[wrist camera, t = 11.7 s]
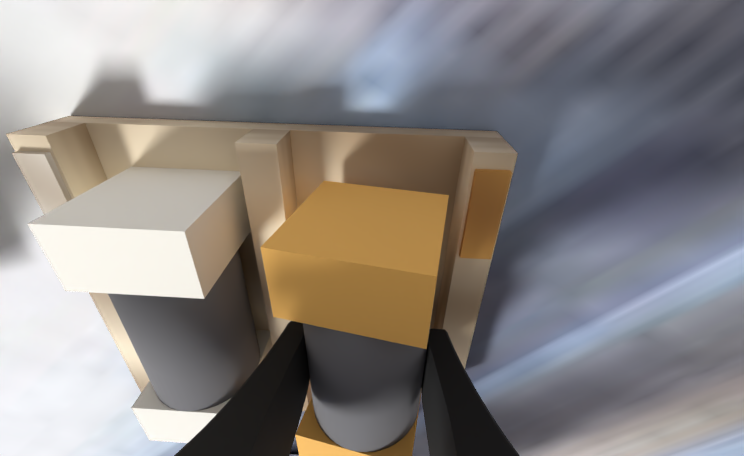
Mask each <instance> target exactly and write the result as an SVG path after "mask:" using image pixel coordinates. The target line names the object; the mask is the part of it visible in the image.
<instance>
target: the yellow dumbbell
mask: <svg viewBox="0 0 744 456" xmlns="http://www.w3.org/2000/svg"><path fill="white" fill-rule="evenodd" d="M448 198H449V195H443V194H434V193H426V192H417V191H409V190H400V189H392V188H383V187H375V186H366V185H357V184H349V183H340V182H332V181H323V182H322V183H321V184H320V185H319V187H318V188H317V189H316V190H315V191H314V192H313V193H312V194H311V195H310V196H309V197H308V198H307V199H306V200H305V201H304V202H303V203H302V204H301V205H300V206H299V207H298V208H297V210H296V211H295V212H294V213H293V214H292V215H291V216H290V217H289V218H288V219H287V220H286V221H285V222H284V223H283V224H282V225H281V226H280V227H279V228H278V229H277V230H276V231H275V233H274V234H273V235H272V236H271V237H270V238H269V239H268V240H267V241H266V242H265V243H264V244H263V245H262V246H261V253H262V258H263V264H264V269H265V274H266V280H267V285H268V291H269V296H270V301H271V307H272V312H273V317H276V318H281V319H286V320H290V321H295V322H300V323H303V328H304V336H305V344H306V352H307V360H308V368H309V376H310V384H311V392H312V397H311V400H310V402H309V404H308V406H307V409H306V411H305V413H304V416H303V418H302V420H301V422H300V425H299V427H298V429H297V432H296V434H295V436H296V441H297V447H298V452H299V456H412V452H413V445H414V439H415V432H416V425H417V418H418V411H419V404H420V397H421V390H422V388H421V387H422V380H423V373H424V366H425V359H426V352H427V345H428V338H429V331H430V324H431V317H432V310H433V303H434V295H435V289H436V282H437V275H438V268H439V262H440V255H441V248H442V241H443V234H444V226H445V219H446V212H447V205H448Z"/></svg>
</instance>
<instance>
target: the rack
mask: <svg viewBox="0 0 744 456" xmlns="http://www.w3.org/2000/svg"><path fill="white" fill-rule="evenodd" d="M6 135H7V137H8V139H9V141H10V143H11V145H12V147H13V149H14V150H15V152H13V153H12V155H13V157H14V159H15V161H16V162H17V164H18V166H19V168H20V170H21V172H22V174H23V176H24V178H25V179H26V181H27V183H28V185H29V187H30V189H31V191H32V193H33V194H34V196H35V198H36V200H37V202H38V204H39V206H40V208H41V210H42V211H43V213H44V214H46V213H48V212H50V211H52V210H53V209H55V208H57V207H59V206H61V205H63V204H64V203H66V202H68V201H70V200H72V199H73V198H75V197H77V196H79V195H81V194H83V193H84V192H86V191H88V190H90V189H92V188H93V187H95V186H97V185H99V184H101V183H102V182H104V181H106V180H108V179H110V178H112V177H113V176H115V175H117V174H119V173H121V172H122V171H124V170H126V169H128V168H130V167H154V168H177V169H199V170H222V171H240V174H241V179H242V184H243V190H244V195H245V201H246V206H247V211H248V217H249V222H250V228H251V231H250V233H249V234H248V236H247V237H246V239H245V240H244V241H243V243H242V244H241V246H240V247H239V254H240V258H241V263H242V268H243V273H244V277H245V282H246V287H247V292H248V297H249V301H250V306H251V311H252V316H253V320H254V325H255V330H270V336H271V341H272V346H273V345H274V344H275V342H276V341H277V339H278V338H279V336H280V335H281V333H282V332H283V331H284V329H285V327H286V326H287V324H288V323H289V322H290V320H286V319H281V318H276V317H273V312H272V307H271V301H270V296H269V291H268V285H267V280H266V274H265V269H264V264H263V258H262V253H261V246H262V245H263V244H264V243H265V242H266V241H267V240H268V239H269V238H270V237H271V236H272V235H273V234H274V233H275V231H276V230H277V229H278V228H279V227H280V226H281V225H282V224H283V223H284V222H285V221H286V220H287V219H288V218H289V217H290V216H291V215H292V214H293V213H294V212H295V211H296V210H297V208H298V207H299V206H300V205H301V204H302V203H303V202H304V201H305V200H306V199H307V198H308V197H309V196H310V195H311V194H312V193H313V192H314V191H315V190H316V189H317V188H318V187H319V185H320V184H321V183H322V182H323V181H332V182H340V183H349V184H357V185H366V186H375V187H383V188H392V189H400V190H409V191H417V192H426V193H434V194H443V195H449V198H448V205H447V212H446V219H445V226H444V234H443V241H442V248H441V255H440V262H439V268H438V275H437V282H436V289H435V295H434V303H433V310H432V317H431V324H430V329H445V330H446V331H447V332H448V335H449V337H450V340H451V342H452V344H453V346H454V349H455V351H456V353H457V355H458V357H459V359H460V361H461V363H462V365H463V367H464V369H465V366H466V362H467V358H468V354H469V350H470V346H471V342H472V338H473V334H474V329H475V325H476V321H477V317H478V313H479V309H480V305H481V301H482V297H483V293H484V289H485V285H486V281H487V277H488V273H489V269H490V265H491V261H492V256H493V252H494V248H495V244H496V240H497V236H498V232H499V228H500V224H501V220H502V216H503V212H504V208H505V204H506V200H507V196H508V192H509V188H510V183H511V179H512V175H513V171H514V167H515V163H516V159H517V155H518V153H517V152H516V151H515V150H514V149H513V148H512V147H511V146H510V145H509V144H508V142H507V141H506V140H505V139H504V138H503V137H502V136H501V135H500V134H499V133H498V132H497V131H480V130H452V129H424V128H396V127H368V126H340V125H312V124H284V123H255V122H227V121H199V120H171V119H143V118H115V117H87V116H67V117H64V118H60V119H57V120H53V121H50V122H46V123H43V124H39V125H36V126H32V127H29V128H25V129H22V130H18V131H15V132H11V133H8V134H6ZM89 294H90V296H91V297H92V299H93V301H94V303H95V305H96V307H97V309H98V311H99V313H100V315H101V316H102V318H103V320H104V322H105V324H106V326H107V328H108V330H109V332H110V334H111V336H112V337H113V339H114V341H115V343H116V345H117V347H118V349H119V351H120V353H121V355H122V357H123V358H124V360H125V362H126V364H127V366H128V368H129V370H130V372H131V374H132V376H133V378H134V379H135V381H136V383H137V385H138V387H139V389H140V391H141V393H142V391H143V390H144V388H145V387H146V385H147V384H148V382H149V381H150V380H149V378H148V376H147V374H146V372H145V370H144V368H143V366H142V363H141V361H140V359H139V357H138V355H137V353H136V351H135V349H134V347H133V345H132V343H131V341H130V339H129V337H128V335H127V332H126V330H125V328H124V326H123V324H122V322H121V320H120V318H119V316H118V314H117V312H116V310H115V308H114V306H113V304H112V301H111V299H110V297H109V295H108V293H92V292H89ZM311 397H312V392H311V384H310V381H309V386H308V392H307V395H306V399H305V403H304V406H303V410H302V411H306V409H307V406H308V404H309V402H310V400H311Z"/></svg>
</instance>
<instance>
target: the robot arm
mask: <svg viewBox="0 0 744 456" xmlns="http://www.w3.org/2000/svg"><path fill="white" fill-rule="evenodd" d="M309 381H310V376H309V368H308V360H307V352H306V344H305V336H304V328H303V323H300V322H295V321H290V322H289V323H288V324H287V326H286V327H285V329H284V331H283V332H282V333H281V335H280V336H279V338H278V339H277V341H276V342H275V344H274V345H273V346H272V348H271V349H270V351H269V352H268V353H267V355H266V356H265V357H264V359H263V360H262V361H261V363H260V364H259V365H258V366H257V368H256V369H255V370H254V372H253V373H252V374H251V375H250V377H249V378H248V379H247V380H246V381H245V383H244V384H243V385H242V386H241V387H240V389H239V390H238V391H237V392H236V393H235V394H234V396H233V397H232V398H231V399H230V400H229V401H228V402H227V404H226V405H225V406H224V407H223V408H222V409H221V410H220V411H219V412H218V413H217V414H216V415H215V416H214V418H213V419H212V420H211V421H210V422H209V423H208V424H207V425H206V426H205V427H204V428H203V429H202V430H201V431H200V432H199V433H198V434H197V435H196V436H195V437H194V438H192V439H191V440H190V441H189V442H188V443H187V444H186V445H185V446H184V447H183V448H182V449H181V450H180V451H179V452H178V453H177V454H176V455H174V456H299V455H295V454H290V451H291V448H292V444H293V441H294V437H295V434H296V430H297V427H298V424H299V420H300V417H301V413H302V410H303V406H304V403H305V399H306V395H307V392H308V386H309ZM421 388H422V403H423V410H424V417H425V424H426V431H427V438H428V445H429V452H430V456H519V454H518V453H517V452H516V450H515V449H514V448H513V446H512V445H511V443H510V442H509V441H508V439H507V438H506V436H505V435H504V433H503V432H502V430H501V429H500V428H499V426H498V425H497V423H496V421H495V420H494V418H493V417H492V415H491V414H490V412H489V411H488V409H487V407H486V406H485V404H484V403H483V401H482V399H481V397H480V396H479V394H478V392H477V391H476V389H475V387H474V385H473V384H472V382H471V380H470V378H469V376H468V375H467V373H466V371H465V369H464V367H463V365H462V363H461V361H460V359H459V357H458V355H457V353H456V351H455V349H454V346H453V344H452V342H451V340H450V337H449V335H448V332H447V331H446V330H445V329H430V331H429V338H428V345H427V352H426V359H425V366H424V373H423V380H422V387H421Z"/></svg>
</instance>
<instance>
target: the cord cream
mask: <svg viewBox="0 0 744 456" xmlns="http://www.w3.org/2000/svg"><path fill="white" fill-rule="evenodd" d="M28 226H29V227H30V229H31V231H32V233H33V234H34V236H35V238H36V240H37V242H38V243H39V245H40V247H41V249H42V250H43V252H44V254H45V256H46V258H47V259H48V261H49V263H50V265H51V266H52V268H53V270H54V272H55V274H56V275H57V277H58V279H59V281H60V282H61V284H62V286H63V288H64V289H65V291H74V292H92V293H108V295H109V297H110V299H111V301H112V304H113V306H114V308H115V310H116V312H117V314H118V316H119V318H120V320H121V322H122V324H123V326H124V328H125V330H126V332H127V335H128V337H129V339H130V341H131V343H132V345H133V347H134V349H135V351H136V353H137V355H138V357H139V359H140V361H141V363H142V366H143V368H144V370H145V372H146V374H147V376H148V378H149V380H150V381H149V382H148V384H147V385H146V387H145V388H144V390H143V391H142V393H141V394H140V396H139V397H138V399H137V400H136V402H135V403H134V405H133V406H132V410H133V412H134V414H135V415H136V417H137V419H138V421H139V422H140V424H141V426H142V428H143V430H144V431H145V433H146V435H147V437H148V438H149V440H151V441H165V442H180V443H188V442H189V441H190V440H191V439H192V438H194V437H195V436H196V435H197V434H198V433H199V432H200V431H201V430H202V429H203V428H204V427H205V426H206V425H207V424H208V423H209V422H210V421H211V420H212V419H213V418H214V416H215V415H216V414H217V413H218V412H219V411H220V410H221V409H222V408H223V407H224V406H225V405H226V404H227V402H228V401H229V400H230V399H231V398H232V397H233V396H234V394H235V393H236V392H237V391H238V390H239V389H240V387H241V386H242V385H243V384H244V383H245V381H246V380H247V379H248V378H249V377H250V375H251V374H252V373H253V372H254V370H255V369H256V368H257V366H258V365H259V364H260V363H261V361H262V360H263V359H264V357H265V356H266V355H267V353H268V352H269V351H270V349H271V348H272V341H271V336H270V330H255V325H254V320H253V316H252V311H251V306H250V301H249V297H248V292H247V287H246V282H245V277H244V273H243V268H242V263H241V258H240V254H239V247H240V246H241V244H242V243H243V241H244V240H245V239H246V237H247V236H248V234H249V233H250V231H251V228H250V222H249V217H248V211H247V206H246V201H245V195H244V190H243V184H242V179H241V174H240V171H222V170H199V169H177V168H154V167H130V168H128V169H126V170H124V171H122V172H121V173H119V174H117V175H115V176H113V177H112V178H110V179H108V180H106V181H104V182H102V183H101V184H99V185H97V186H95V187H93V188H92V189H90V190H88V191H86V192H84V193H83V194H81V195H79V196H77V197H75V198H73V199H72V200H70V201H68V202H66V203H64V204H63V205H61V206H59V207H57V208H55V209H53V210H52V211H50V212H48V213H46V214H44V215H43V216H41V217H39V218H37V219H35V220H33V221H32V222H30V223H28Z"/></svg>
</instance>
